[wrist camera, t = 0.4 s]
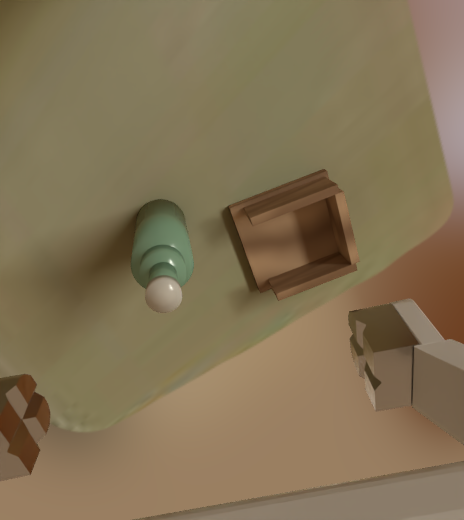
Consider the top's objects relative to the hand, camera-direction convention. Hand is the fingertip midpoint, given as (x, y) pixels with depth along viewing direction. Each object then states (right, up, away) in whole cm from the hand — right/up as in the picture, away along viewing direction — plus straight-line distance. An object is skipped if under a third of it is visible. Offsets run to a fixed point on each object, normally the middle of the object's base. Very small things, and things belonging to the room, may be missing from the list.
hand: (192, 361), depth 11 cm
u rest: (+8, +6, +41) cm, 42 cm away
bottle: (-7, +7, +38) cm, 39 cm away
